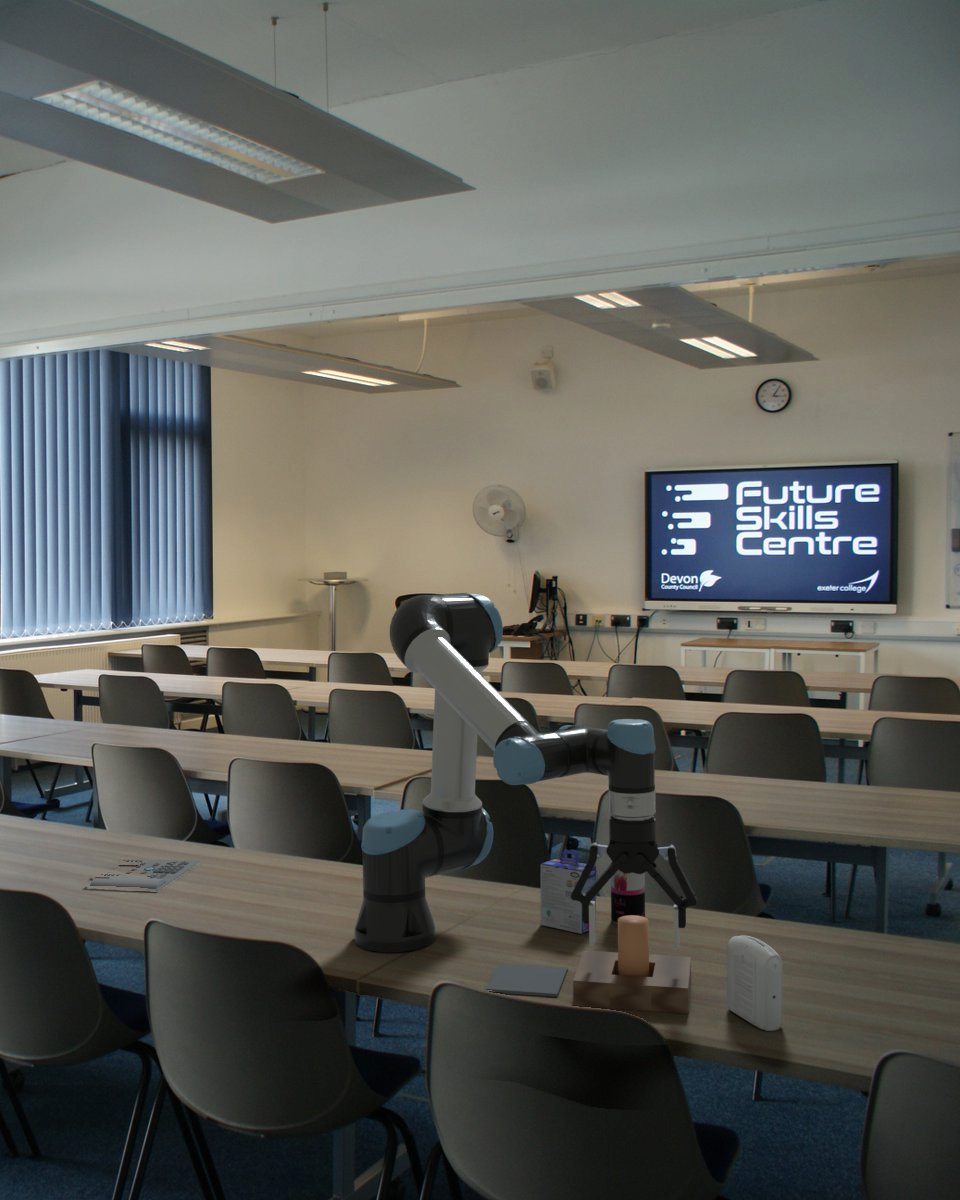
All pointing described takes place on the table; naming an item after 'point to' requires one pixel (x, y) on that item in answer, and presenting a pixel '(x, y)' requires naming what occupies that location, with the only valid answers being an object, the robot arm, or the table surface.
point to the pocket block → (633, 984)
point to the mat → (527, 979)
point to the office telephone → (149, 874)
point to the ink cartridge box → (563, 893)
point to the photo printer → (755, 982)
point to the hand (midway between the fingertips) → (634, 945)
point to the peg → (633, 946)
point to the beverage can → (627, 895)
